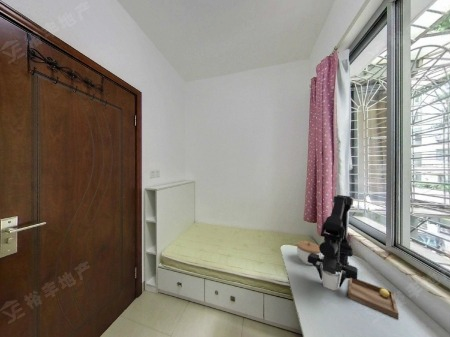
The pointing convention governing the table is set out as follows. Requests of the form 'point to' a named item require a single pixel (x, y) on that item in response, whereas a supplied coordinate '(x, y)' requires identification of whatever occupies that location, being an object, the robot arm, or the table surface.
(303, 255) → the lidded bowl
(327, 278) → the white cup
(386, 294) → the ball
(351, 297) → the tray
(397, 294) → the table surface
